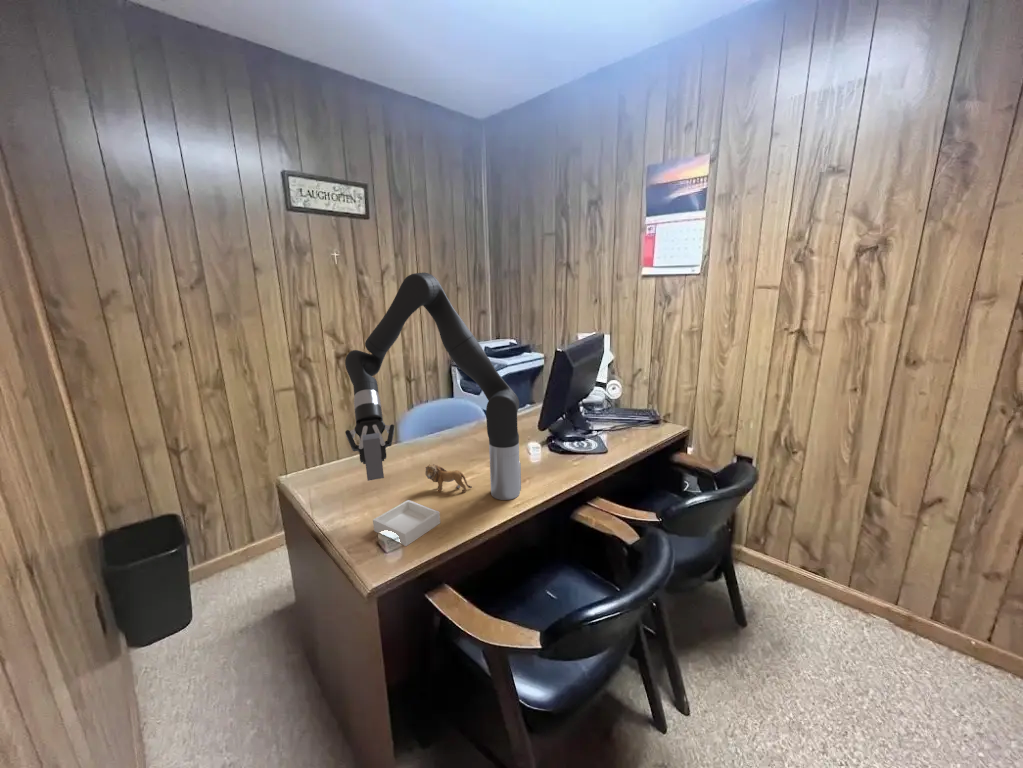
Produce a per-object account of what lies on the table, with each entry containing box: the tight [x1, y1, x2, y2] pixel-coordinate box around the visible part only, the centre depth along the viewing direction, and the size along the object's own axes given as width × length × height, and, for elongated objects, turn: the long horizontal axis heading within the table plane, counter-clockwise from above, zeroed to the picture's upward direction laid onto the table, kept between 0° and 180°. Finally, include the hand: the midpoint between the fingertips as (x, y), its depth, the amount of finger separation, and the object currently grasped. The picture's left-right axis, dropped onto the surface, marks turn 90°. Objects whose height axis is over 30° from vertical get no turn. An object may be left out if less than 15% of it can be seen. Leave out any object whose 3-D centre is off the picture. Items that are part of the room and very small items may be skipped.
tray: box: [372, 499, 441, 547], centre depth 116 cm, size 13×13×4 cm
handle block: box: [363, 433, 385, 481], centre depth 118 cm, size 4×4×12 cm
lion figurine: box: [424, 463, 473, 493], centre depth 136 cm, size 15×5×9 cm, turn 92°
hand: (373, 461), depth 117 cm, fingers closed on handle block, 4 cm apart
